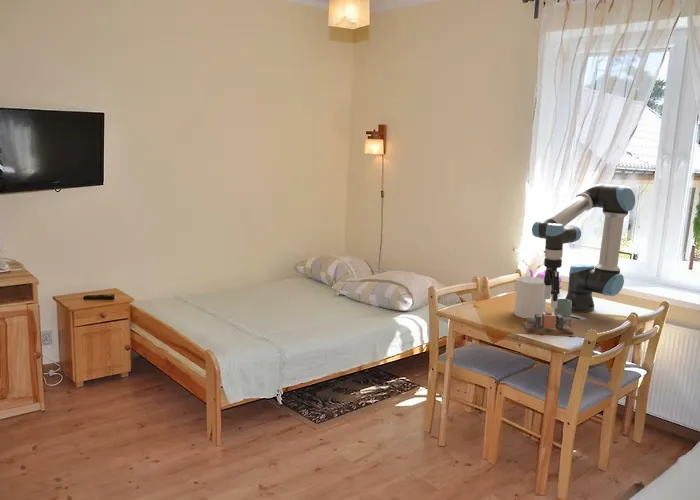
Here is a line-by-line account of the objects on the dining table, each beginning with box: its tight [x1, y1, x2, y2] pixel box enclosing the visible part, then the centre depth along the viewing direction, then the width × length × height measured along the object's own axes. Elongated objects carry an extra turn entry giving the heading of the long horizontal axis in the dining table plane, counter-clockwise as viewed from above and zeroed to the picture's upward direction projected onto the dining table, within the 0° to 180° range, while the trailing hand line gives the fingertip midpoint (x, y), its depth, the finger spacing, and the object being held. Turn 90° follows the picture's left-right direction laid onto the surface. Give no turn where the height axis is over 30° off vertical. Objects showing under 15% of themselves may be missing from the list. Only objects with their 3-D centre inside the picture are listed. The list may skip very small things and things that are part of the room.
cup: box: [553, 298, 572, 318], centre depth 296 cm, size 8×8×10 cm
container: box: [513, 276, 547, 319], centre depth 304 cm, size 14×14×18 cm
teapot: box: [527, 268, 563, 292], centre depth 350 cm, size 20×14×12 cm
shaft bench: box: [523, 314, 574, 335], centre depth 282 cm, size 20×11×7 cm, turn 85°
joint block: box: [541, 311, 556, 329], centre depth 282 cm, size 5×5×7 cm
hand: (550, 303), depth 281 cm, fingers open, 13 cm apart
